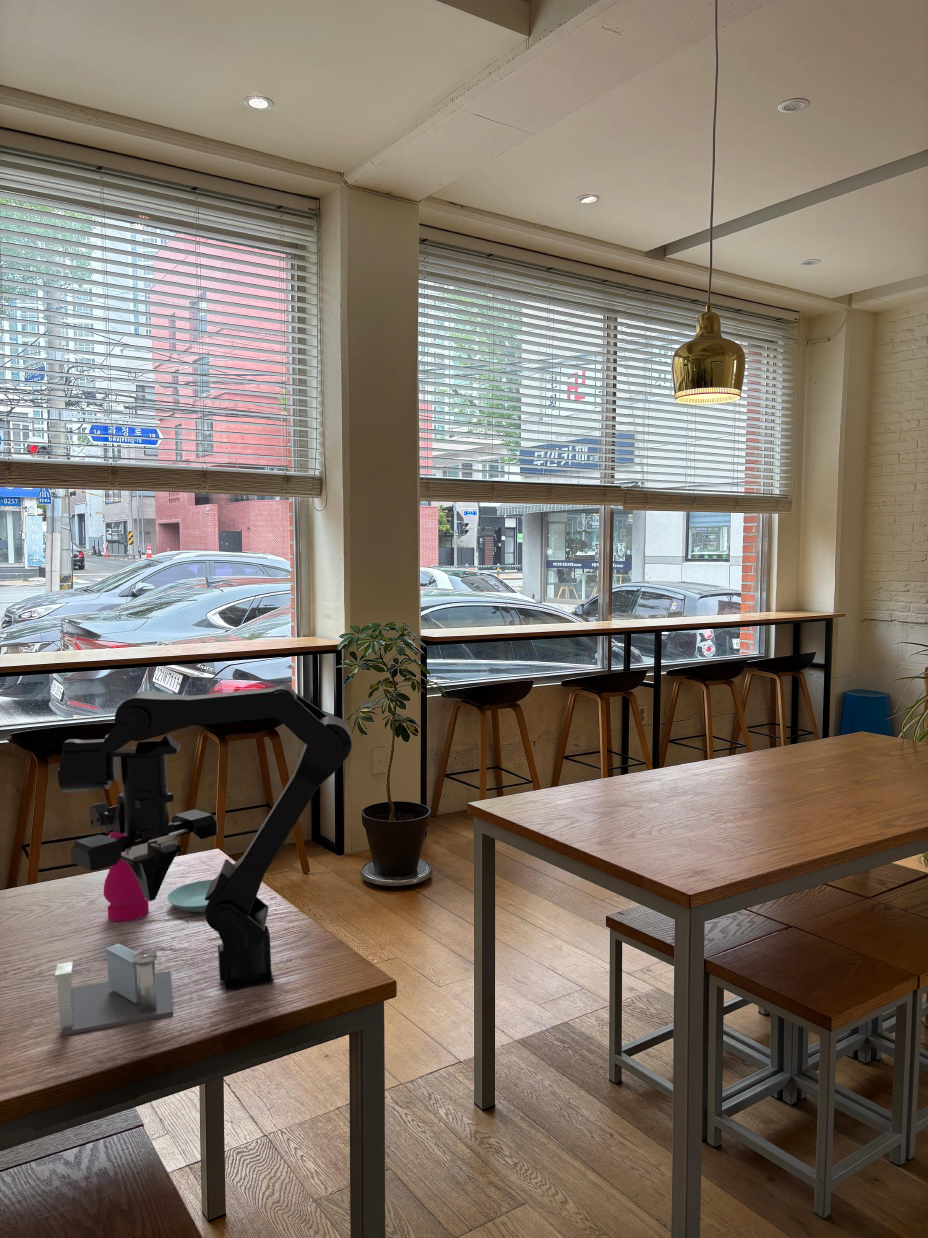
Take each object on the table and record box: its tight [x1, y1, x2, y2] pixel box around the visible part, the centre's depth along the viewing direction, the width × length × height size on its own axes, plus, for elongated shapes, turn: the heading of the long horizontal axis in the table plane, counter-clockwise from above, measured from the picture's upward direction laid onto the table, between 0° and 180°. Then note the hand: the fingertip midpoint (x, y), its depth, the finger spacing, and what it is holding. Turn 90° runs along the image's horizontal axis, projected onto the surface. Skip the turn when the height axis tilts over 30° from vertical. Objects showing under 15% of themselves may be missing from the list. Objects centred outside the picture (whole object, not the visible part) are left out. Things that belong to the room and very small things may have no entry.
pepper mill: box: [103, 804, 150, 923], centre depth 146 cm, size 7×7×20 cm
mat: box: [61, 970, 174, 1037], centre depth 117 cm, size 13×12×1 cm
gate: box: [105, 943, 138, 1003], centre depth 118 cm, size 7×2×6 cm, turn 50°
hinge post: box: [134, 949, 158, 1013], centre depth 115 cm, size 3×3×8 cm
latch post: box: [54, 961, 74, 1035], centre depth 111 cm, size 2×3×8 cm, turn 20°
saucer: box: [167, 879, 213, 913], centre depth 151 cm, size 12×12×2 cm
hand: (150, 900), depth 121 cm, fingers closed
